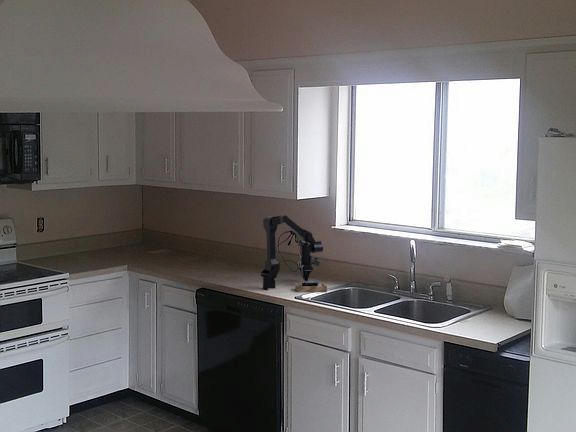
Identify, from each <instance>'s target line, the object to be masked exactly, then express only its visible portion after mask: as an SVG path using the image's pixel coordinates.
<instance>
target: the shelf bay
mask: <svg viewBox="0 0 576 432" xmlns="http://www.w3.org/2000/svg"><path fill="white" fill-rule="evenodd" d="M294 289H295V291H296V292H297V293H327V291H328V286H327V285H326V284H325V283H323V282H322V283H321V285H320V286H319V285H318V286H302V285H299V284H298V283H297V282H295V283H294Z"/></svg>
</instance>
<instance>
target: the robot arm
mask: <svg viewBox="0 0 576 432" xmlns="http://www.w3.org/2000/svg"><path fill="white" fill-rule="evenodd" d="M262 223H263V229H264V230H265V233H266V260H265V262H264V268H263V269H262V270H261V271H260V276H261V278H262V286H261V288H262V289H263V290H270V289H272V290H274V289H276V284H277V283H276V279H277V277H278V274H279V273H280V270H281V265H280V264H281V261H278V260H277V254H276V253H277V250H276V246H277V245H276V232H277V229H278V226H279V225H281V224H283V225H285V227H287V228H288V229H289V230H291V232H293V233H295V235H296V236H297V238H298V240H300V242H299V243H297V246H299V247H300V255H299V257H300V260H299V261H298V262H297V267H298V270H299V272H300V274H301V277H302V280H303V281H309V277H310V274H311V273H312V272H314V266H313V265H315V266H316V267H320V266H321V265H320V264H321V262H322V261H321V260H319V259H318V257H317V256H314V257H312V254H318V253H319V254H320V253H323V252H324V245H323V243H322V241H321V240H315V238H314V236H313V233H312V232H311V231H308V230H306V229H304V228H302V227H300V225H298V223H296V222H294V221H293V219H291V218H289V216H288V215H285V214H280V215H275V216H268V215H267V216H265V217H264V218H263V220H262Z"/></svg>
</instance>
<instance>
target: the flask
mask: <svg viewBox="0 0 576 432" xmlns="http://www.w3.org/2000/svg"><path fill="white" fill-rule="evenodd" d="M319 283H320V282H319V280H311V281H309V280H308V281H305V280H303V281H302V282H301V285H300V286H319Z"/></svg>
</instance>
